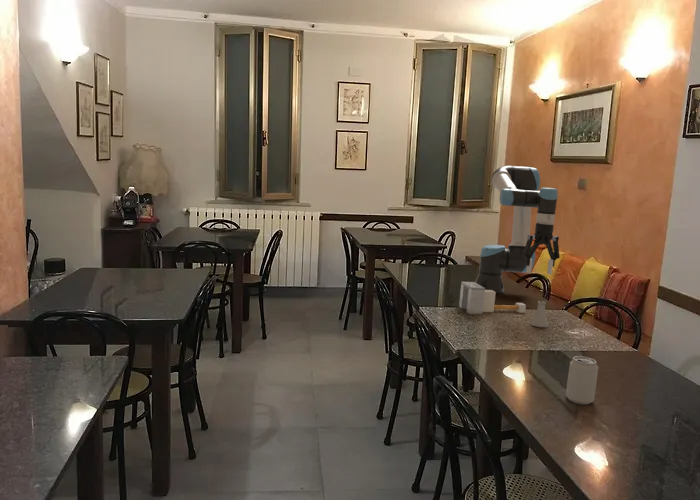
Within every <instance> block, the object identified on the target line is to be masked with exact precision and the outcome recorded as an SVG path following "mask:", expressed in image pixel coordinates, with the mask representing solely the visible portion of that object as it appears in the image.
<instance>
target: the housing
mask: <svg viewBox="0 0 700 500" xmlns="http://www.w3.org/2000/svg"><path fill="white" fill-rule="evenodd" d="M460 283H461V285H460V290H459V300H458V301H459V303H458V307H459V309H461V310H463V309H465V310H466V313H467V314H469V315H483V313H484V312H483V303H484V294H485V288H484V287H482V286H480V285H479V284H477V283H475V281H461V282H460Z"/></svg>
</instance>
